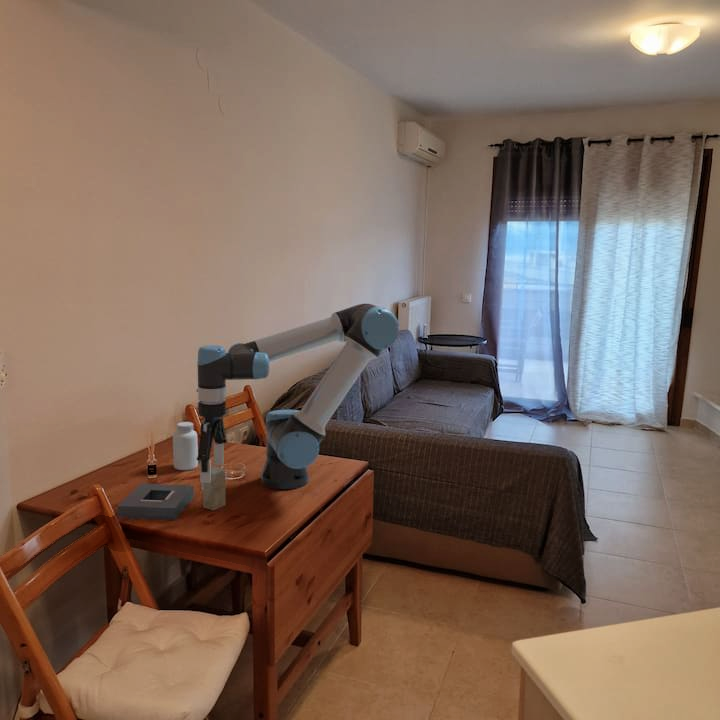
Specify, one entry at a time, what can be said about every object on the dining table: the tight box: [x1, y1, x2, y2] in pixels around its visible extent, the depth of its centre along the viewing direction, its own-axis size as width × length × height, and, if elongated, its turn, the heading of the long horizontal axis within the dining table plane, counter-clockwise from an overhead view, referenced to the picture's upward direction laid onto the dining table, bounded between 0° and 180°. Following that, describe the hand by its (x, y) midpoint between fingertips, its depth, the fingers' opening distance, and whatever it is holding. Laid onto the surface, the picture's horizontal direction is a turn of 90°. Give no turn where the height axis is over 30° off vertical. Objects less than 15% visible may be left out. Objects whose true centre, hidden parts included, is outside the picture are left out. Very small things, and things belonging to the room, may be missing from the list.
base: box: [117, 483, 195, 521], centre depth 178 cm, size 16×16×4 cm
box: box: [202, 465, 227, 511], centre depth 178 cm, size 5×4×11 cm
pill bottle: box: [172, 421, 199, 471], centre depth 208 cm, size 8×8×15 cm
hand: (212, 473), depth 177 cm, fingers open, 13 cm apart
